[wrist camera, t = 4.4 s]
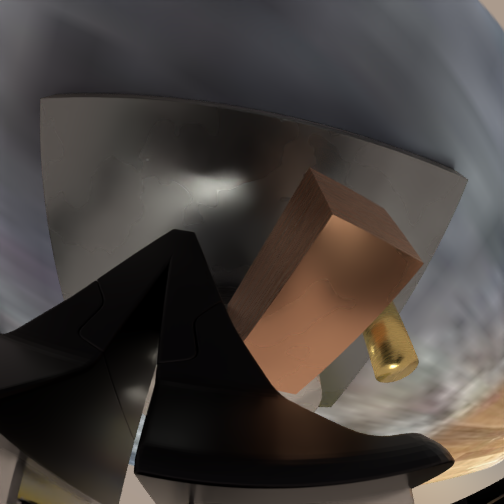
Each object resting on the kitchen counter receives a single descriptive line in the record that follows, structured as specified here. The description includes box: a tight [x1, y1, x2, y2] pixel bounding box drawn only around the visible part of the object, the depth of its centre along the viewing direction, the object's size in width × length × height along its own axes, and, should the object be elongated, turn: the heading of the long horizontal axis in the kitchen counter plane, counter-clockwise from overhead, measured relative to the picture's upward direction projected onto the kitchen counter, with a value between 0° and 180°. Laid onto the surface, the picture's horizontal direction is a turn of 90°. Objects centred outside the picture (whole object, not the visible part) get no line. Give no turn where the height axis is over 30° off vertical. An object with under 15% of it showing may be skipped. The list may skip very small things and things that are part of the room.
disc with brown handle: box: [142, 167, 424, 415], centre depth 10 cm, size 12×8×2 cm, turn 154°
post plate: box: [40, 93, 468, 407], centre depth 13 cm, size 18×18×6 cm
